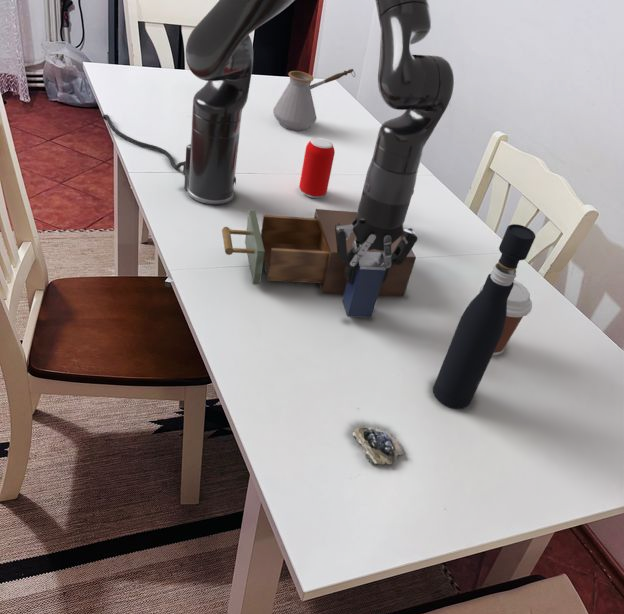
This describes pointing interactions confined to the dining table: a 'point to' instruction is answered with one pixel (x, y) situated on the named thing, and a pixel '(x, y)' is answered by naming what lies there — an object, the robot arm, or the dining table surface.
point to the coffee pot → (300, 101)
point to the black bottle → (481, 324)
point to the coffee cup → (514, 313)
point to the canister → (364, 286)
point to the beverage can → (317, 167)
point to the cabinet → (335, 268)
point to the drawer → (282, 248)
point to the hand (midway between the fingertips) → (363, 281)
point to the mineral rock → (378, 444)
